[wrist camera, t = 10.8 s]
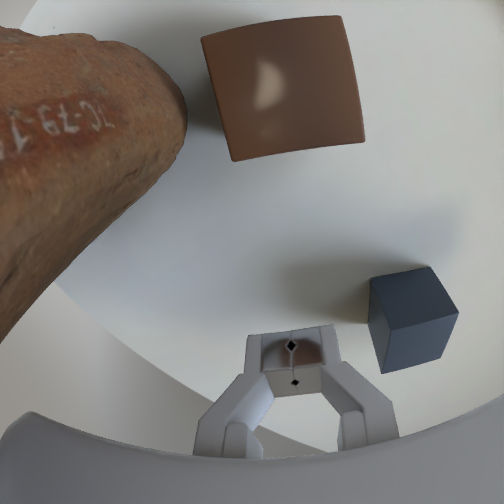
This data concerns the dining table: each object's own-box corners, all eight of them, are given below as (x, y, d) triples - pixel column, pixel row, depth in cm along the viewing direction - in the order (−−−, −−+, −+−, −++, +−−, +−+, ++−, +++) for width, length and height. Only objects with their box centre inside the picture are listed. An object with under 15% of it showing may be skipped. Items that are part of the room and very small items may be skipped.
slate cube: (367, 324, 18) (381, 374, 14) (370, 277, 16) (390, 330, 12) (420, 313, 17) (440, 358, 14) (430, 266, 15) (459, 312, 11)
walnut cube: (244, 140, 12) (231, 163, 8) (223, 54, 10) (198, 36, 6) (337, 126, 11) (366, 143, 8) (319, 39, 9) (341, 14, 5)
